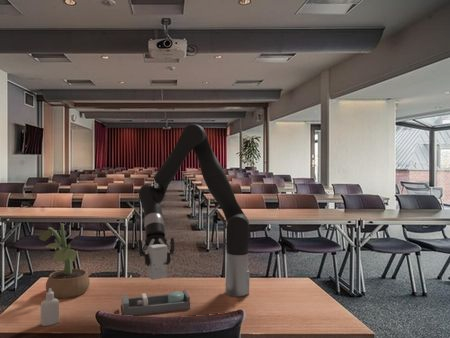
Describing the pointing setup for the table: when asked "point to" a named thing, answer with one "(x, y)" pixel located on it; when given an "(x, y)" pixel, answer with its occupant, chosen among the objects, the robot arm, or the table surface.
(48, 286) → the potted plant
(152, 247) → the skincare box
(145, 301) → the spring paddle
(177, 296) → the teal jar
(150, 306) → the pusher lane
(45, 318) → the eye dropper bottle
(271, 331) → the table surface
